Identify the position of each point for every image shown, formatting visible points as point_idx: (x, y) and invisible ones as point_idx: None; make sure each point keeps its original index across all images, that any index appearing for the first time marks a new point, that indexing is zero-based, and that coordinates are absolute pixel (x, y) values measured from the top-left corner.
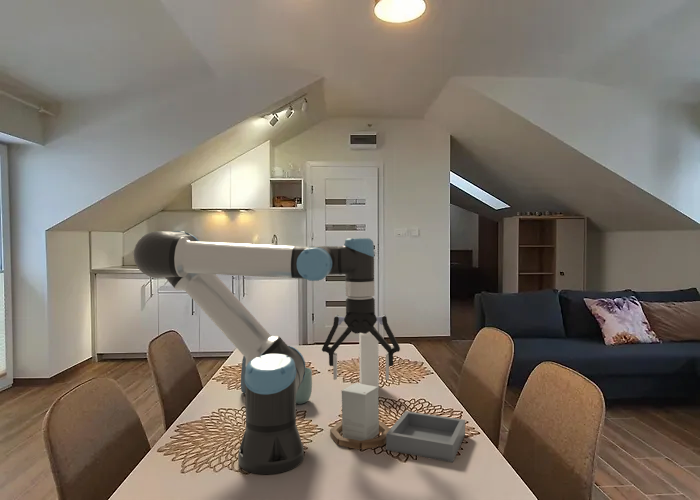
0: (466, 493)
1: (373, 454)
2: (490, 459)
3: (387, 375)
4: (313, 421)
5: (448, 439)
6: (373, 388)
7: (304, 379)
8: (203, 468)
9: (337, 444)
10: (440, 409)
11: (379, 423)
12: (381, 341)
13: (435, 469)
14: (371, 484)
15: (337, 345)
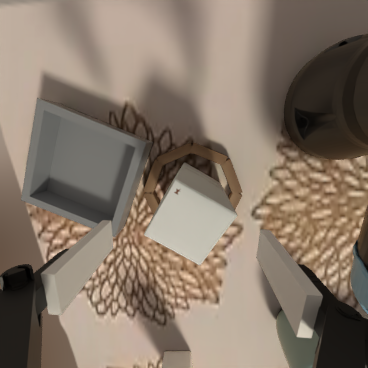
0: (41, 5)
1: (172, 126)
2: (9, 115)
3: (100, 226)
4: None
5: (62, 170)
6: (155, 222)
7: (307, 348)
8: None
9: (228, 158)
10: None
11: None
12: (7, 354)
13: (83, 79)
14: (175, 23)
15: (333, 352)
